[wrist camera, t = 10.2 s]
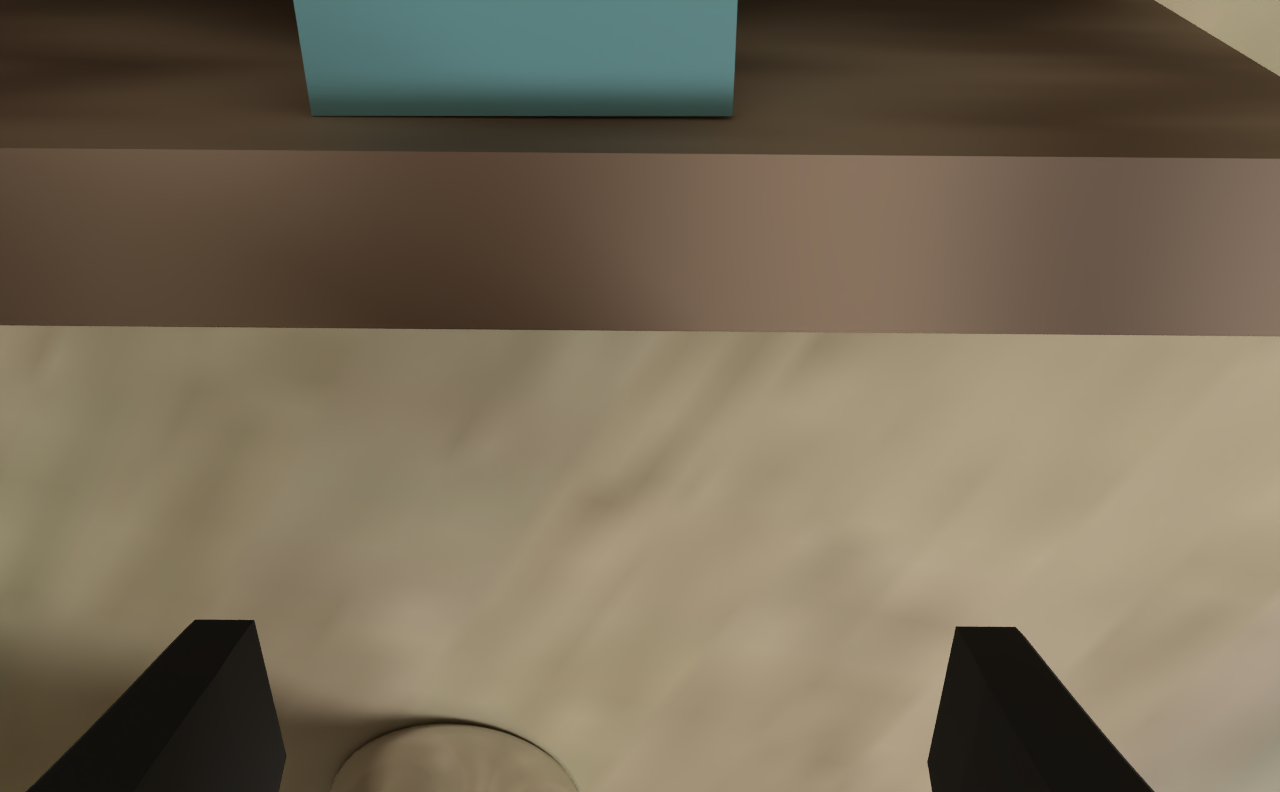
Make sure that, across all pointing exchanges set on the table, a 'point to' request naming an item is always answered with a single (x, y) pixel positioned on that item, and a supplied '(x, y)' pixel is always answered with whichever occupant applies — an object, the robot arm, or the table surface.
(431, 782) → the beer glass
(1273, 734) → the table surface
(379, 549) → the table surface
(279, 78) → the brown wooden ledge block
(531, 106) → the teal rectangular block
